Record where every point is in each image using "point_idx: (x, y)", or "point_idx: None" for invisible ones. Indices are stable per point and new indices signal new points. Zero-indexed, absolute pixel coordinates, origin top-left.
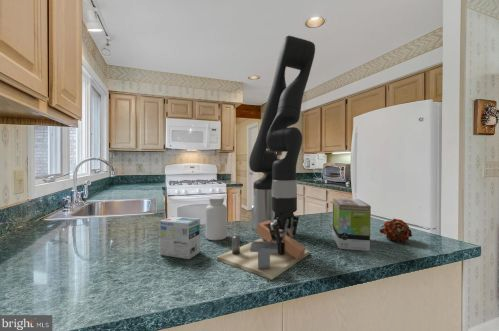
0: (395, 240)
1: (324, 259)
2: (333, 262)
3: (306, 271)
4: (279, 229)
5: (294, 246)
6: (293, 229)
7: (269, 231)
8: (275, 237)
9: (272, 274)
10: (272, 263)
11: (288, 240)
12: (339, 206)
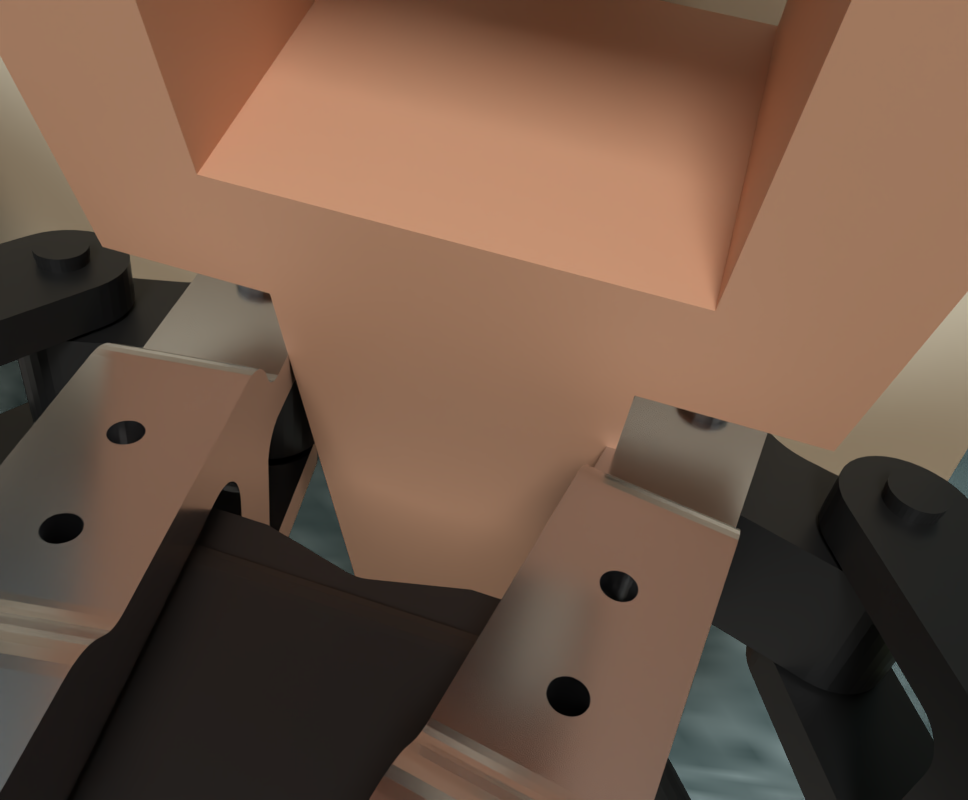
0: None
1: (737, 690)
2: (684, 751)
3: (297, 542)
4: (668, 337)
5: (359, 572)
6: (801, 753)
7: (39, 109)
8: (20, 364)
9: None
10: (70, 201)
11: (391, 522)
12: None
